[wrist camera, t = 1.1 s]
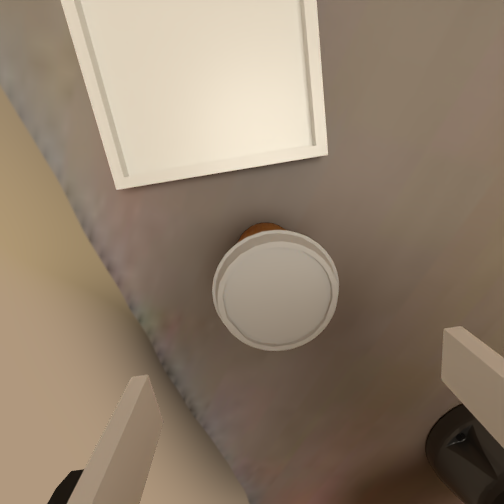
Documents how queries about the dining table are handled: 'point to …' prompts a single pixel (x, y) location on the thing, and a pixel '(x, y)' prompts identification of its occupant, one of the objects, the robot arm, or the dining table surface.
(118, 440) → the robot arm
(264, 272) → the disposable coffee cup
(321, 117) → the tray
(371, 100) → the dining table surface
